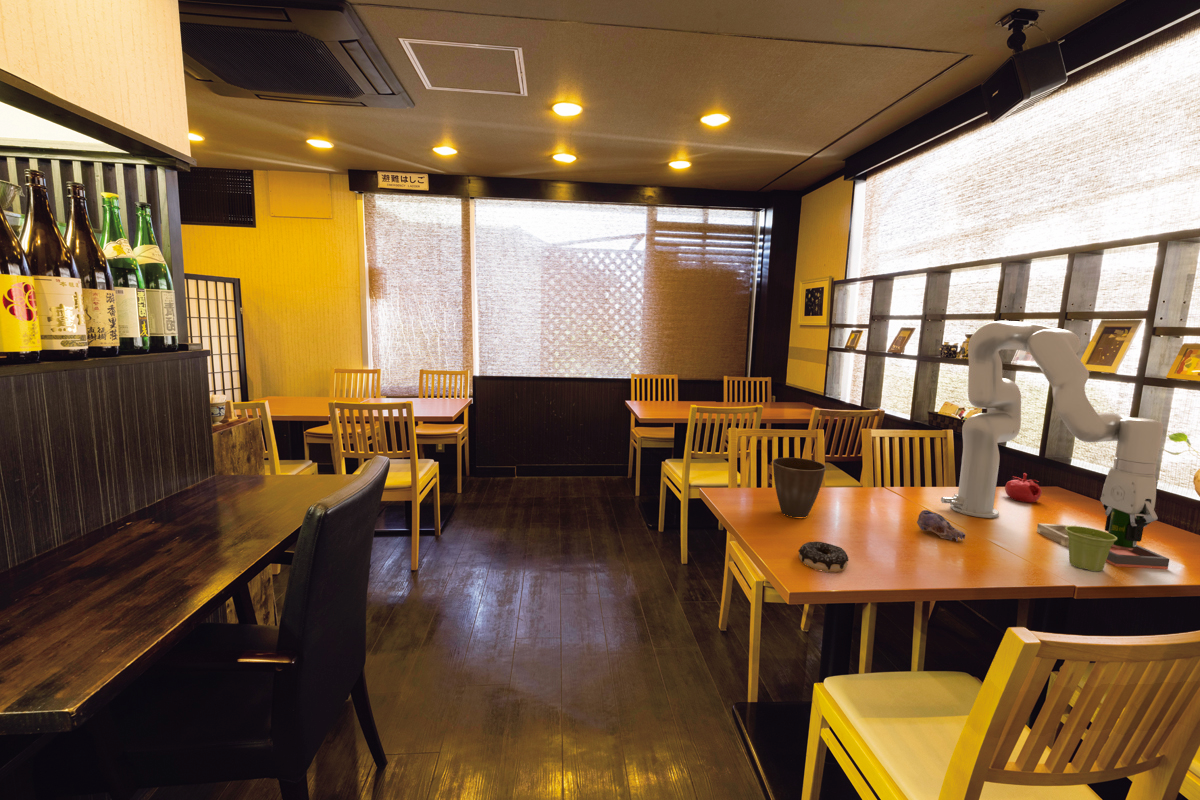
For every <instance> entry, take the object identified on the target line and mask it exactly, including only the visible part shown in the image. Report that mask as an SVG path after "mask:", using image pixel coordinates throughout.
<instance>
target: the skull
mask: <svg viewBox="0 0 1200 800" xmlns="http://www.w3.org/2000/svg"><path fill="white" fill-rule="evenodd" d="M916 524H917V525H918V527H919V529H921V530H922V531H924V532H929V531H930V532H933V533H934V534H936V535H938V536H939V537H940V538H942V539H945V540H950V541H952V540H953V539H955V540H956V542H958V539H960V541H961V542H962V541H963V540H965V539H966V533H964V532H963V531H961V530H959V529H957V528H955V527H954V526H953V525H952V524H951V523H950V522H949V521H948V520H947V519H946V518H945V517H944V516H943V515H941V514H940V513H936V512H934V511H931V510H928V509H925V510H921V511H920V513H919V514H918V517H917V520H916Z"/></svg>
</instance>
